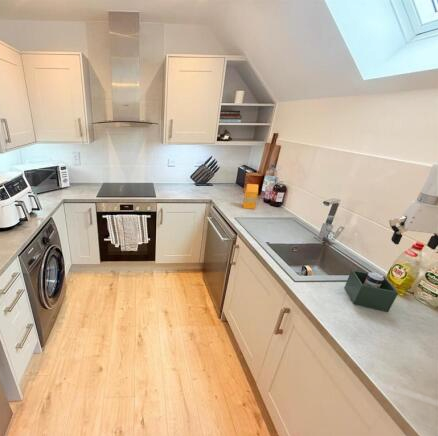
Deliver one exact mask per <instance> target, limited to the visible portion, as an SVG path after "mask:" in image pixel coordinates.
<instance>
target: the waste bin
mask: <svg viewBox="0 0 438 436" xmlns="http://www.w3.org/2000/svg"><path fill="white" fill-rule="evenodd" d="M368 273H369V272H366V271H360V270H355V269H351V270H350V272H349V275H348V278H347V280H346V282H345V285H344V287H343V288H344V290H345V292H346V293H347V295H348V297H349V299H350V301H351V303H352V304H353V305H355V306H359V307H363V308H368V309H372V310H377V311H380V312H386V313H389V311H390V310H391V308H392V306H393V304H394V303H395V300H396V298H397V297H398V295H399V291H397V289H396V287H394V286H393V284H392V283H391V282H390V280H389V279H388V278H387V277H386V276H385V275H383V278H384V280H383V282H382V284H381V286H380V288H375V287H370V286H366V285H363V284H364V282H365V280H366V278H367V276H368Z"/></svg>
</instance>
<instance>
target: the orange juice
mask: <svg viewBox="0 0 438 436" xmlns="http://www.w3.org/2000/svg"><path fill="white" fill-rule="evenodd" d="M258 195H259V184H258V183H257V184H255V183H247V184H246V186H245V190H244V195H243V201H242V208H243V209H246V210H247V209H248V210H255V209H256V205H257V201H258Z"/></svg>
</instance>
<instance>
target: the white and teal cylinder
mask: <svg viewBox="0 0 438 436" xmlns="http://www.w3.org/2000/svg"><path fill="white" fill-rule="evenodd" d="M367 273H368V276H367V278H366V280H365V282H364V284H363V285H366V286H370V287H375V288H380V286H381V284H382V282H383V280H384V278H383V276H384V275H382V273H380V272H376V271H370V272H367Z"/></svg>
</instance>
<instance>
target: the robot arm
mask: <svg viewBox="0 0 438 436" xmlns="http://www.w3.org/2000/svg"><path fill="white" fill-rule="evenodd" d="M388 223H389V225H390V227H389V228H391V230H392V231H393V233H392V236H391V239H390V240H391V242H392V243H393V244H394V245H399V244H400V242H401V240H402V238H403V234H404V233H405V232H408V231H410V232H417V233H426V234H433V235H431V236H430V238H429V239H428V241H427V244H426V246H427V247H428V248H429V249H431V250H434V251H435V250H436V248H437V247H438V161H436V162H435V163H433V164H432V166H431V167H430V170H429V172H428V174H427V176H426V179H425V181H424V183H423V185H422V187H421V189H420V192H419V194H418V196H417V198H416V200H412V201H411V202H410V204H408V206H407V207H406V209H405V211H404V212H403V214H402V215H401V216H400V217H396V218H392V219H389V220H388ZM397 224H398V226H397Z"/></svg>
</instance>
